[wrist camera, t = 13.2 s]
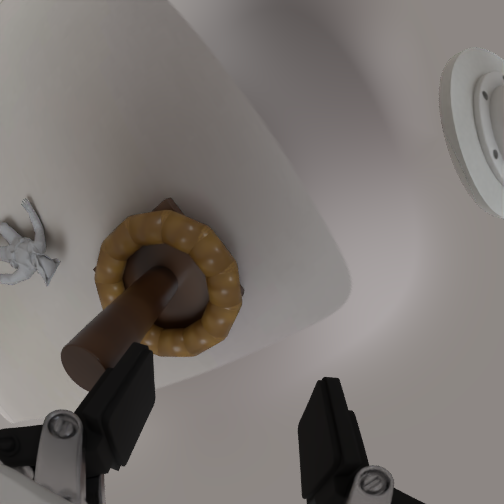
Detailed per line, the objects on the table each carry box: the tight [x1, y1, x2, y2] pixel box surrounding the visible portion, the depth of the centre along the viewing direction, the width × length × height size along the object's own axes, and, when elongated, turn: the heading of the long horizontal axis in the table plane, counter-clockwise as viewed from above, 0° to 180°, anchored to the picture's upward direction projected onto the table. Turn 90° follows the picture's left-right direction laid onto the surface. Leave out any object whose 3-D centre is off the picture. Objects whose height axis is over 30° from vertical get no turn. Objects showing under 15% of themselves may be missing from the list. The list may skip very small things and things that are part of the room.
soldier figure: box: [0, 198, 61, 286], centre depth 17 cm, size 8×5×12 cm
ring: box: [95, 210, 242, 357], centre depth 17 cm, size 10×10×2 cm
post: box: [61, 198, 244, 392], centre depth 14 cm, size 8×8×11 cm
